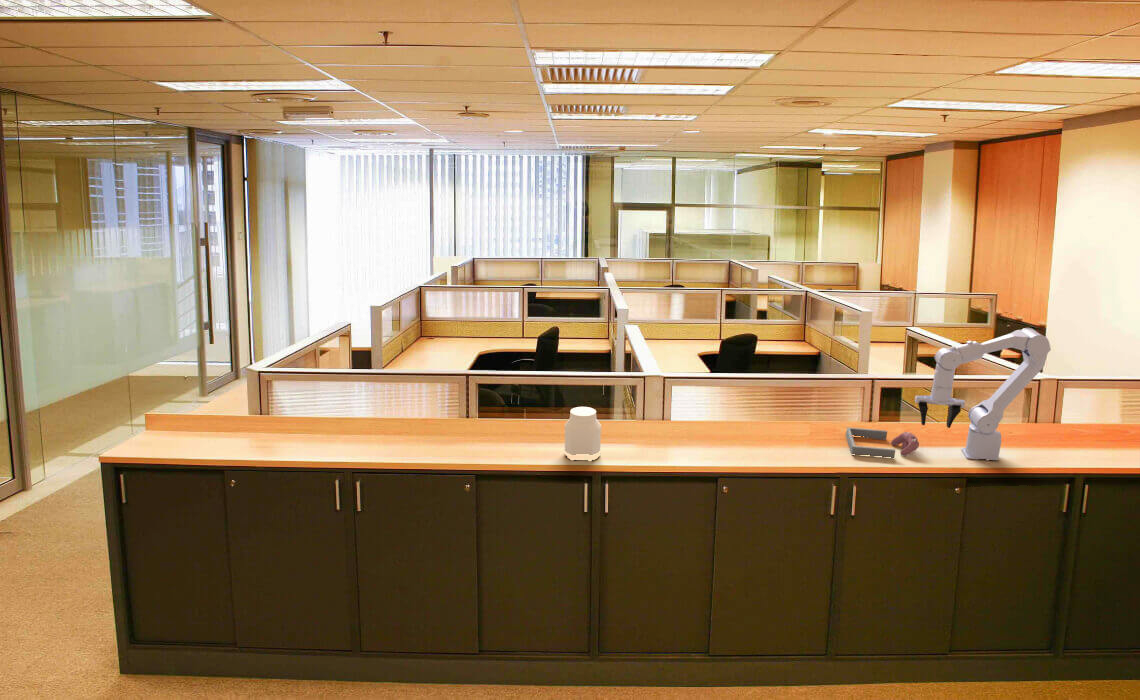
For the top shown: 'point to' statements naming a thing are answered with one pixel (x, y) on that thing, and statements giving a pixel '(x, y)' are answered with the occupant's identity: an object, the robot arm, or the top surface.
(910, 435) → the video game controller
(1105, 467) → the top surface
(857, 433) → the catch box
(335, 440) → the top surface
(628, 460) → the top surface
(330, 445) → the top surface
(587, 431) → the jar
